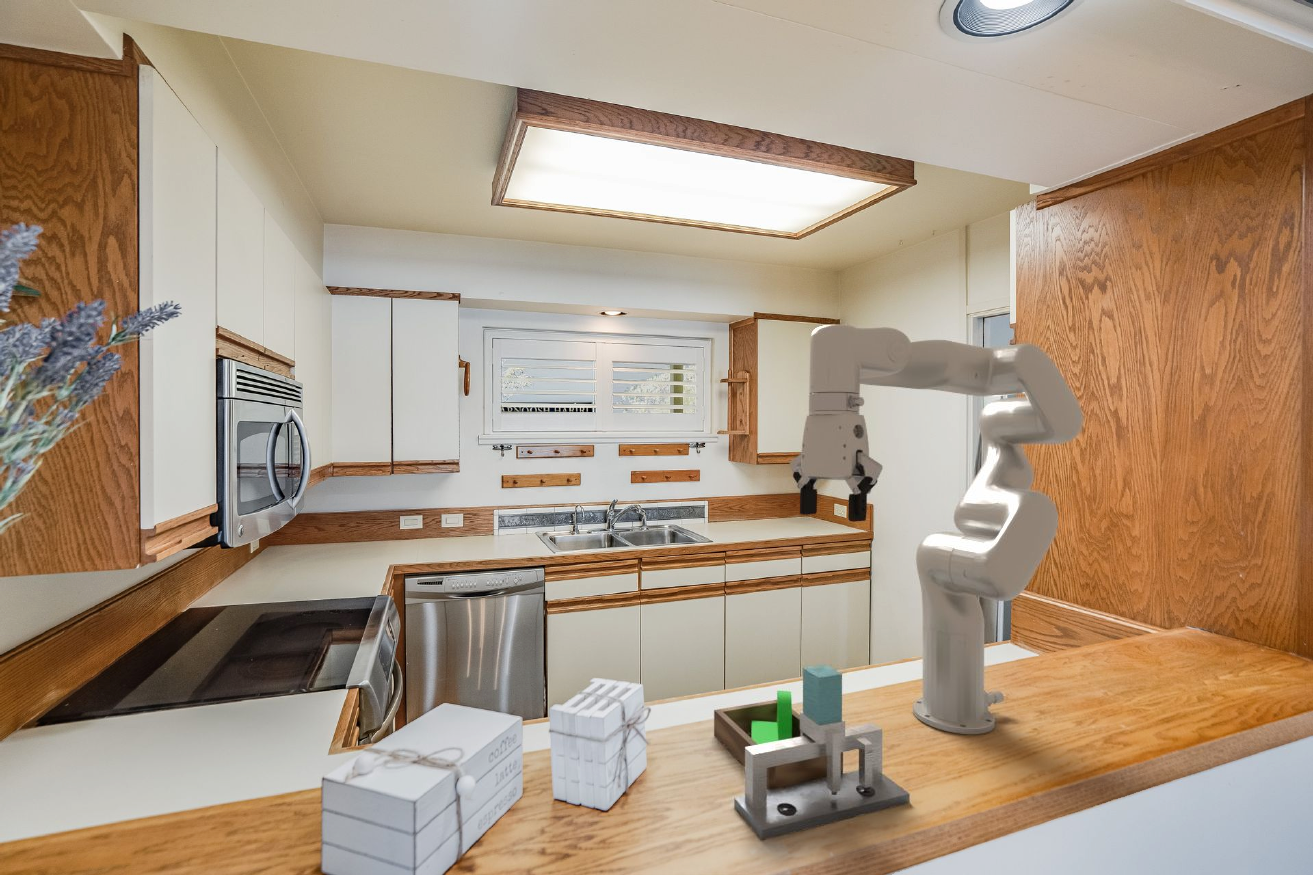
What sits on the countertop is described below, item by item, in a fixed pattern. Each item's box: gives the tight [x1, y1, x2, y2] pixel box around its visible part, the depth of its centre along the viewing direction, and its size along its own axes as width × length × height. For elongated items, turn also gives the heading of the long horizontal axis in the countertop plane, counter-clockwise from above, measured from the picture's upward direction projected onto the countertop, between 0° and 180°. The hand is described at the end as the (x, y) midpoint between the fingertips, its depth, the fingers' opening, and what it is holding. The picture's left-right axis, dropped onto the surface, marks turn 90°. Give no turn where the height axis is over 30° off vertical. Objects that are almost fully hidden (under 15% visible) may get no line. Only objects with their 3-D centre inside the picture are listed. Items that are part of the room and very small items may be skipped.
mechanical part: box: [750, 690, 793, 745], centre depth 92 cm, size 12×6×8 cm, turn 171°
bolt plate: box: [733, 769, 911, 841], centre depth 80 cm, size 22×7×1 cm, turn 110°
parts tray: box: [713, 699, 844, 790], centre depth 93 cm, size 12×17×4 cm
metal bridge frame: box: [744, 722, 883, 809], centre depth 80 cm, size 20×4×8 cm, turn 110°
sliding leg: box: [799, 664, 846, 795], centre depth 81 cm, size 4×5×15 cm
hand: (831, 517), depth 94 cm, fingers open, 9 cm apart
